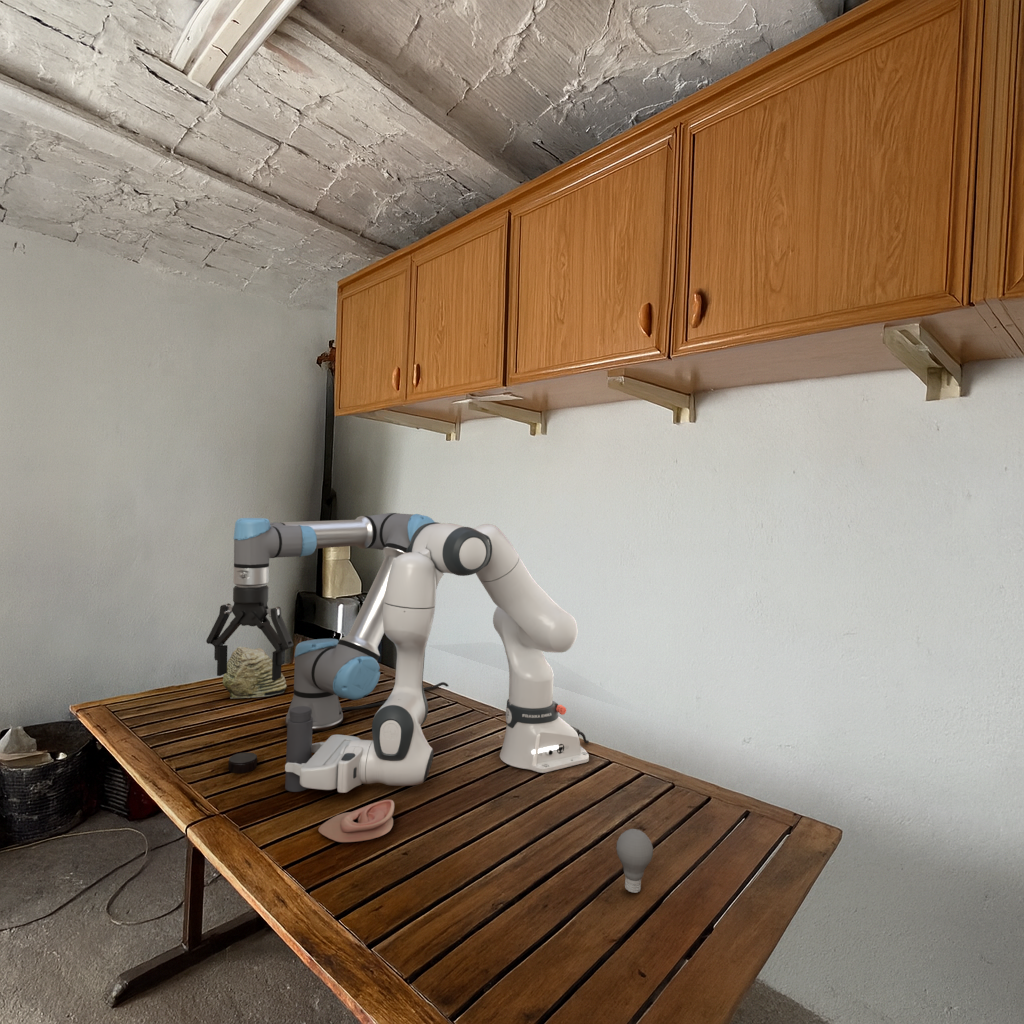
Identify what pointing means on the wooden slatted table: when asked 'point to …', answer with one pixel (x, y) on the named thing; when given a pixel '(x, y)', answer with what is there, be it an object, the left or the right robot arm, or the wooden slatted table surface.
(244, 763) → the lid
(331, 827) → the anatomical model
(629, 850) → the light bulb
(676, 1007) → the wooden slatted table surface
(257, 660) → the fossil
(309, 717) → the jar
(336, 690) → the left robot arm
